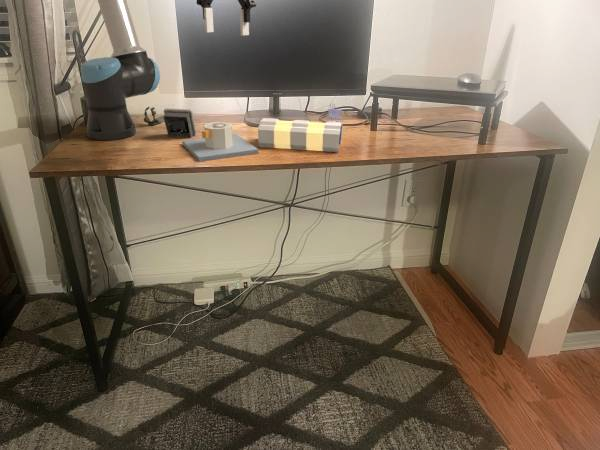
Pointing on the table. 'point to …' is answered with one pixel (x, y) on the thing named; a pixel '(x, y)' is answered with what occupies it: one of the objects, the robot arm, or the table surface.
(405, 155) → the table surface
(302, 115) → the table surface
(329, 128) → the striped octagonal tube
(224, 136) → the beige octagonal hollow block
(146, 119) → the zombie figurine
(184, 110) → the electrical switch
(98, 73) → the robot arm
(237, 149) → the shaft plate
